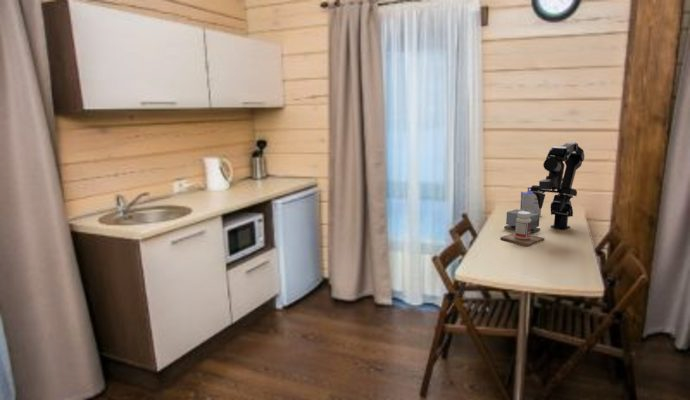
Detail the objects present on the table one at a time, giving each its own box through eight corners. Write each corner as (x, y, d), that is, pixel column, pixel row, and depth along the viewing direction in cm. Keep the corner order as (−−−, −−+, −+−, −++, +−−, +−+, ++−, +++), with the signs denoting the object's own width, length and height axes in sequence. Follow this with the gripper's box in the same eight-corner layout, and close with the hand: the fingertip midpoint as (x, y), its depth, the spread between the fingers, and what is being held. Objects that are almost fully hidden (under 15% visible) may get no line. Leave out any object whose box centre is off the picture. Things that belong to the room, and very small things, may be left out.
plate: (517, 233, 211) (517, 231, 210) (544, 240, 200) (544, 238, 200) (500, 239, 203) (500, 237, 203) (527, 246, 193) (527, 244, 193)
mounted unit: (515, 224, 225) (516, 208, 223) (540, 230, 214) (541, 213, 213) (504, 228, 219) (505, 212, 218) (529, 234, 209) (530, 217, 207)
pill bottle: (525, 235, 205) (527, 210, 202) (532, 239, 199) (534, 213, 196) (512, 235, 204) (514, 211, 202) (518, 239, 198) (520, 214, 196)
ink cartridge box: (539, 214, 243) (541, 187, 240) (541, 216, 238) (543, 189, 234) (519, 213, 245) (521, 186, 242) (521, 216, 240) (522, 189, 236)
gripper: (526, 170, 204) (520, 205, 204) (566, 172, 189) (560, 209, 189) (540, 175, 211) (534, 208, 211) (580, 177, 196) (574, 213, 196)
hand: (549, 209), depth 201 cm, fingers open, 9 cm apart
